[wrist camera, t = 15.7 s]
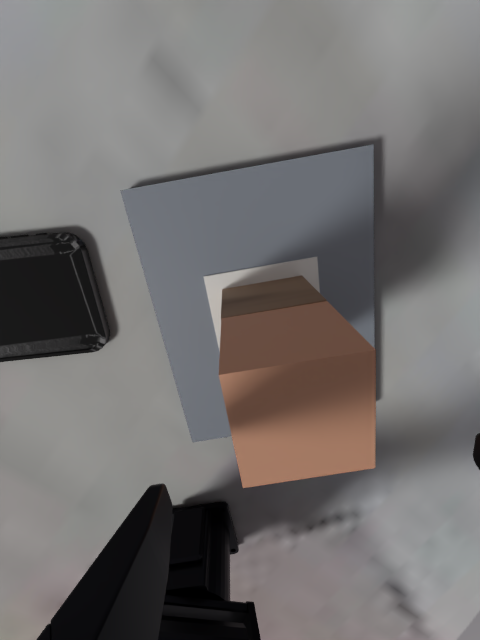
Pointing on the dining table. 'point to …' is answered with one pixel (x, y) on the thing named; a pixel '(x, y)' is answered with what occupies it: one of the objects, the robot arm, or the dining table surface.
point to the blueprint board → (251, 255)
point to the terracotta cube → (298, 393)
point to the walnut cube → (268, 296)
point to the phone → (48, 298)
